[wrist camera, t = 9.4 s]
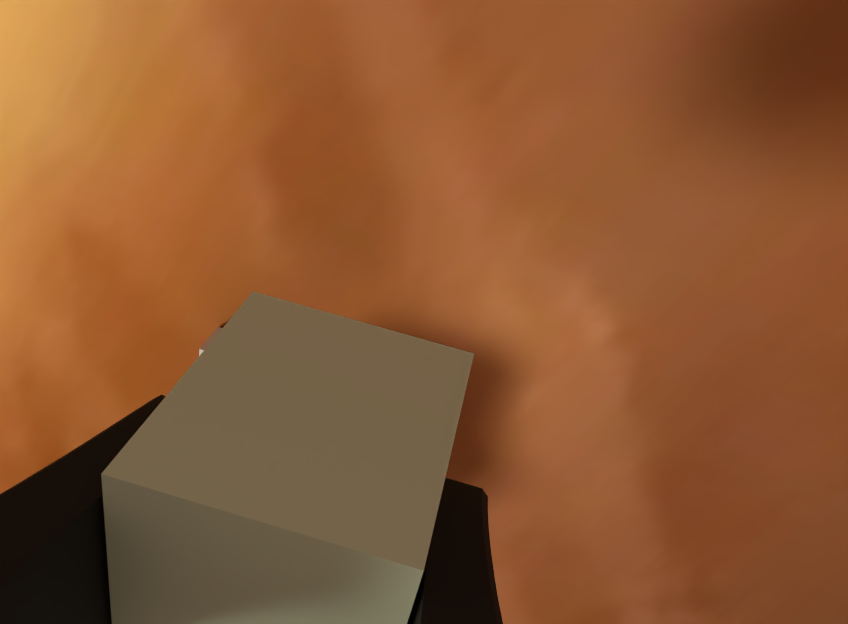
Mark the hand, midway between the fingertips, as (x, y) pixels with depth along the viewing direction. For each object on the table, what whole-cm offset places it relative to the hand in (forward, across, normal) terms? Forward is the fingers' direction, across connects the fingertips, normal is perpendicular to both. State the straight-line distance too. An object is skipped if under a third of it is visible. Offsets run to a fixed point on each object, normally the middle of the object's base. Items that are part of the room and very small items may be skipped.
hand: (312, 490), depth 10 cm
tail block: (+2, 0, 0) cm, 2 cm away
